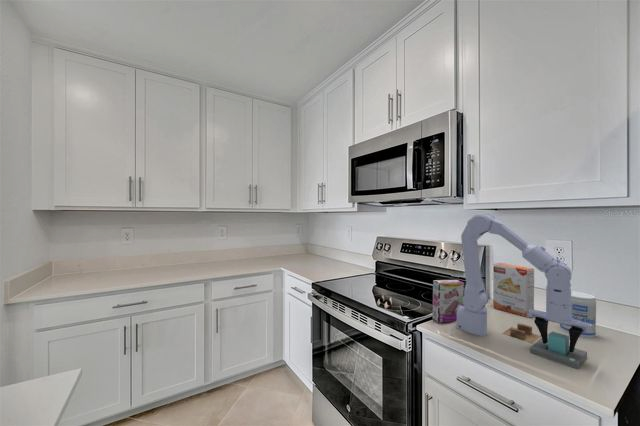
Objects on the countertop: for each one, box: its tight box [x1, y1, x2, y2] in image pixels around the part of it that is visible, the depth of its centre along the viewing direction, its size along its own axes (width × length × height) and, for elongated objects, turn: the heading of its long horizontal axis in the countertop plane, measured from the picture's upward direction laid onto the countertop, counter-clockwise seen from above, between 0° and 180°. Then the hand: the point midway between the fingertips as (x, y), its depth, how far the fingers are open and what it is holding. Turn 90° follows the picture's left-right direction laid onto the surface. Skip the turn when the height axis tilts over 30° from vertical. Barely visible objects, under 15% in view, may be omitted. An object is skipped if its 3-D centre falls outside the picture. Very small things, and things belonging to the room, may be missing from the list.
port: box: [529, 337, 588, 370], centre depth 82 cm, size 11×11×3 cm
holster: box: [501, 322, 542, 345], centre depth 95 cm, size 9×9×4 cm
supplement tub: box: [559, 290, 597, 338], centre depth 98 cm, size 10×10×15 cm
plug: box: [548, 330, 570, 356], centre depth 82 cm, size 4×4×7 cm
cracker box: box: [492, 262, 535, 319], centre depth 119 cm, size 14×6×21 cm, turn 25°
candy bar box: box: [432, 279, 465, 324], centre depth 110 cm, size 11×5×16 cm, turn 97°
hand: (558, 346), depth 82 cm, fingers open, 6 cm apart
